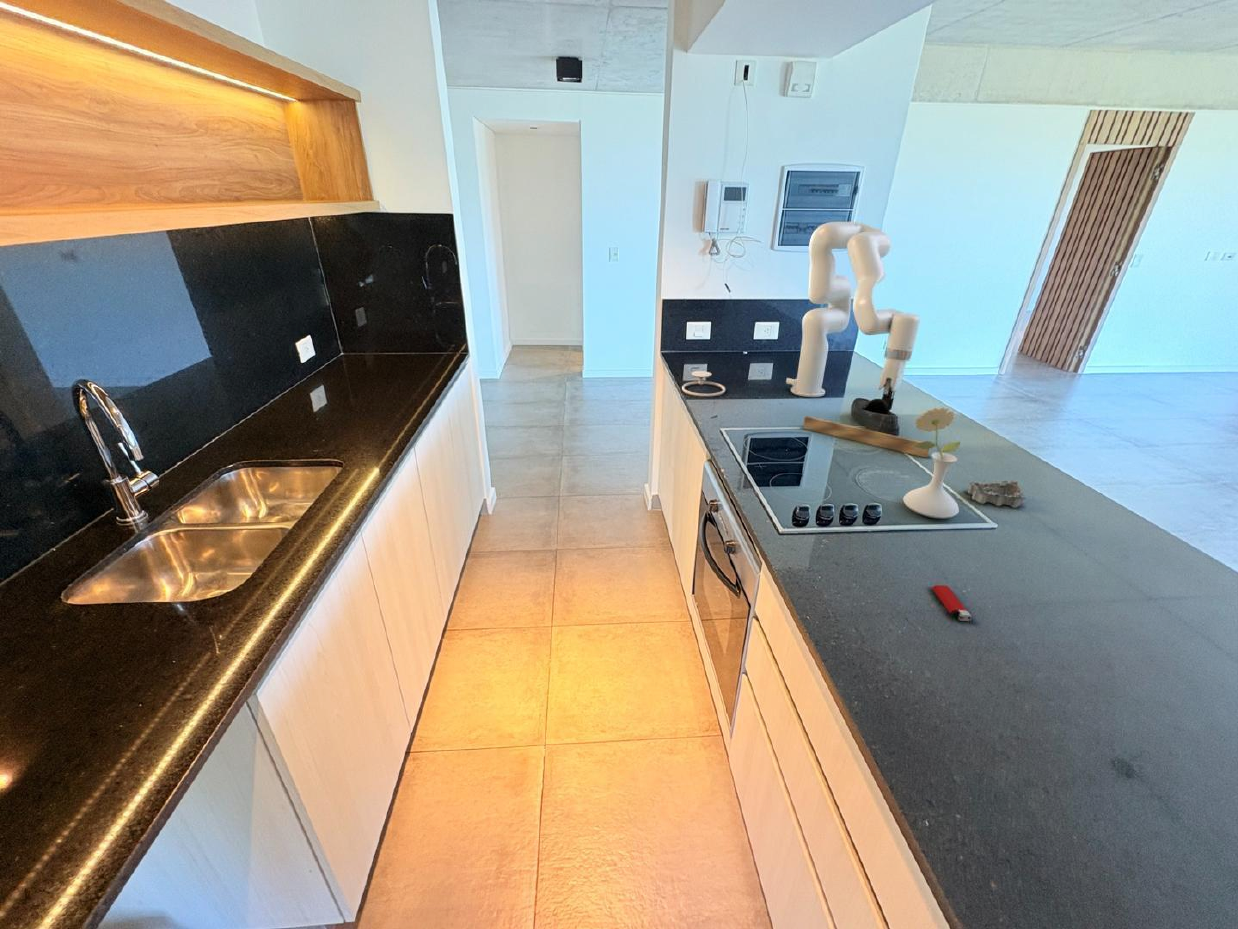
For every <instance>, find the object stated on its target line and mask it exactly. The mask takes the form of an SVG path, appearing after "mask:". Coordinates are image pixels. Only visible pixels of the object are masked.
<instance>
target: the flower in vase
mask: <svg viewBox="0 0 1238 929" xmlns="http://www.w3.org/2000/svg"><path fill="white" fill-rule="evenodd" d="M949 410H950V408H949V407H940V408H938V407H933V408H932V410H931V409H929V410H927V411H925V412H924V413H921V414H919V417H917V418H916V419H915V420H914V421H915V422H914V424H915V429H918V430H919V431H923V432H929V433H931V432H933V431H934V432H935V442H932V441H930V440H929V441H927V440H926V441H921V443H919V444H917V445H916V446H914V447H918V448H922V449H929V450H931V449H933V448H935V447H936V448H937V451H938V452H932V453H931V457H932V460H933V464H934V469H933V474H932V477H931V481H930V482H929V483H928V484H927V485H925V486H922V487H921V486H920V487H918V488H915V489H912V490H910V491H908V492H906V494H905V495H904V496H903V497H902V498H903V499H902V500H903V502H904V504H905V506H906V507H907V508H908V509H909V510H911V511H912V512H913V513H914V512H915V513H916V514H918V515H921V516H924V517H928V518H934V519H950V518H953V517H955V516H956V515H958V513H959V512H960V509H959V505H958V503H957V501H956V500H955V499H954V498H953V497H952V496H951V494H949V493H948V491H946V490H945V489H944V481H945V480H944V479H945V476H946V474H947V473H948V470H949V469H950V467H951V466H952V464H954V463H956V462H957V461H958V457H956V456H955V455H952V454H950V453H952V452H955V451H956V450H957V449H958V448H959V446H960V445H961V441H956V442H951V443H946V444H944V445H943V446H942V448H941V449H940V446H939V444H938V431H939V430H944V429H945V428H946V427H948V426H950V425H951V424H953V423H954V419H955V415H956V414H955V411H954V410H950V411H949Z"/></svg>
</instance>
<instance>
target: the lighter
mask: <svg viewBox="0 0 1238 929" xmlns="http://www.w3.org/2000/svg"><path fill="white" fill-rule="evenodd" d="M932 590H933V592H934V593H935V595H936V596H937V597H938V599H939V600H940V601H941V603H942V604H943V605H944V607H945V608H946V609H947V611H948V612H949V613H950V615H951V617H953V618H955V619H958V620H960V621H962V622H969V621H972V618H973V616H972V615H971V614H970V613H969V611H968V610H967V609H966V607H965V606H964V605H963V603H962V602H961V601H960V599H959V598H958V597H957V596H956V594H955V593H954V592H953V590H952V589H951V588H950V587H949V586H948V585H945V584H943V585H941V584H935V585H933V587H932Z"/></svg>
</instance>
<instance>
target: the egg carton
mask: <svg viewBox="0 0 1238 929" xmlns="http://www.w3.org/2000/svg"><path fill="white" fill-rule="evenodd" d="M968 482H969V487H968V490H967V493H968V495H972V496H971V499H972V500H974V501H975V502H978V503H979V504H983V505H984V504H985V503H991V504H993V505H995V506H997V507H998V506H999V507H1001V506H1002V505H1007V506H1010V507H1011V508H1019V507H1021V506H1022V504H1023V502H1024V500H1026V499H1027V498H1026V495H1024V493H1023V492H1021V488H1020V485H1019V483H1018V481H1013V480H1002V481H1001V482H997V481H993V482H986V481H978V482H977V481H972V480H969V481H968Z"/></svg>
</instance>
